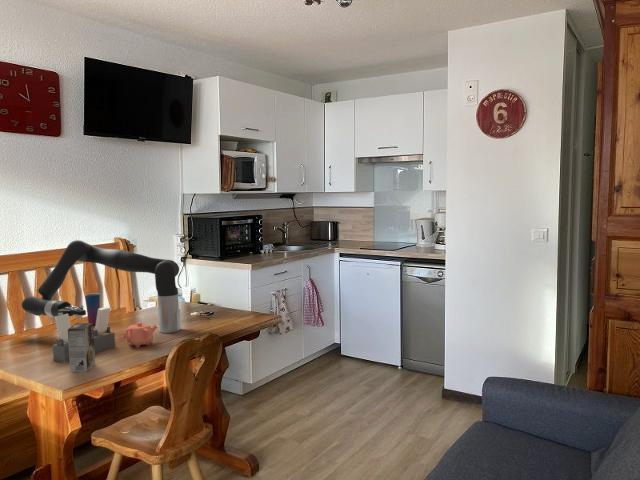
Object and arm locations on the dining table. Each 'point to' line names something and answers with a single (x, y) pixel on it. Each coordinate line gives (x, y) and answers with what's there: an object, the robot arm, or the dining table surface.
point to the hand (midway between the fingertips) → (84, 312)
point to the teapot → (139, 334)
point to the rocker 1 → (63, 326)
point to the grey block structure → (100, 343)
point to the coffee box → (81, 347)
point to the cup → (92, 306)
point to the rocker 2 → (102, 319)
